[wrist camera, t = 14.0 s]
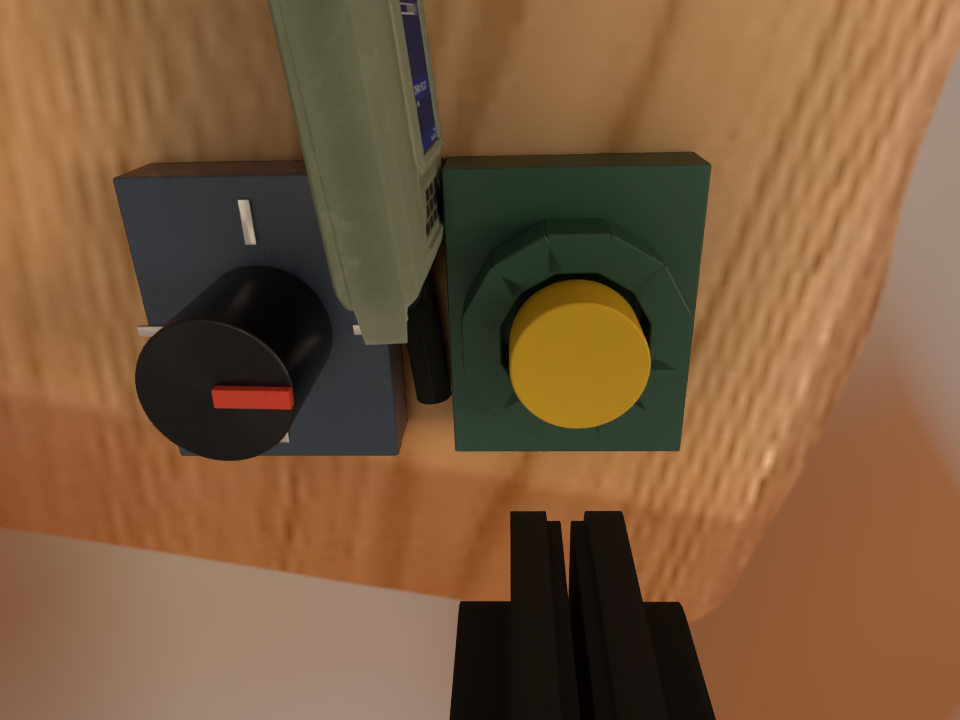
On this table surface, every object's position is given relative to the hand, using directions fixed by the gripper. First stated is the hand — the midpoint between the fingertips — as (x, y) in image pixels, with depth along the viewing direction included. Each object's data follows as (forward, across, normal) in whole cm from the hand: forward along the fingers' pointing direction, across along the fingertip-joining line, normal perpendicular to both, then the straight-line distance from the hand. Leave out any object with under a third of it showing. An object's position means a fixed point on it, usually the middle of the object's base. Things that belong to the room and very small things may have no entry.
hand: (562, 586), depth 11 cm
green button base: (+15, -1, +1) cm, 16 cm away
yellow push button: (+12, -1, +1) cm, 12 cm away
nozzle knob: (+13, +9, +1) cm, 16 cm away
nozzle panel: (+15, +9, +1) cm, 18 cm away
